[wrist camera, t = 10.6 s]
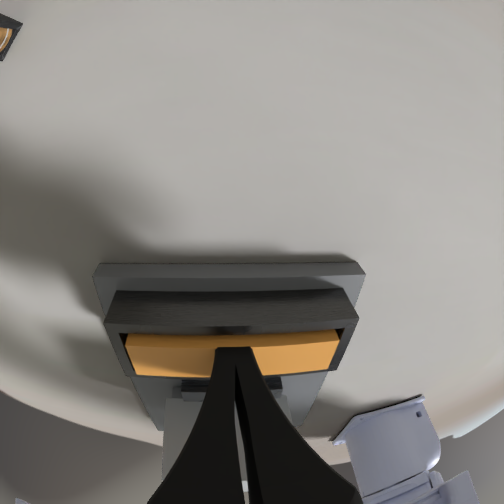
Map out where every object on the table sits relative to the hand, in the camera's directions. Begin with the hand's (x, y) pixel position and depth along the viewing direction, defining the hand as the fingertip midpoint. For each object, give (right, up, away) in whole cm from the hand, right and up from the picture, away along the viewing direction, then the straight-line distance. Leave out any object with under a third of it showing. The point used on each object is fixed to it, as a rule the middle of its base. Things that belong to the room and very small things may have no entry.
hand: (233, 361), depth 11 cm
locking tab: (0, +1, +2) cm, 2 cm away
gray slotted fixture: (-1, -3, +6) cm, 6 cm away
